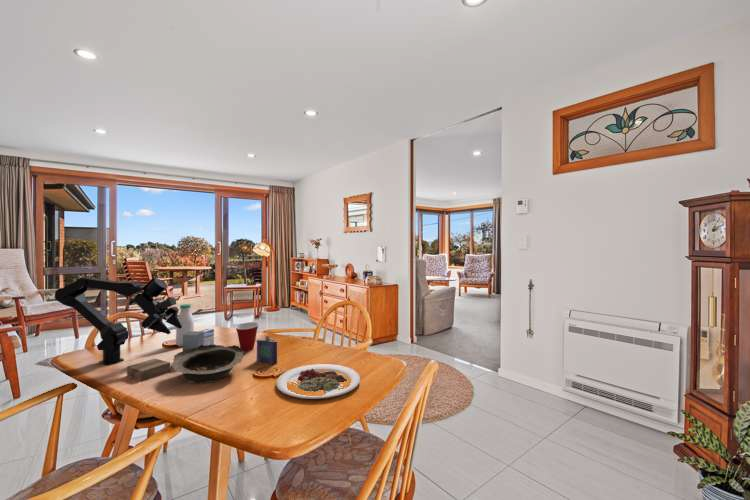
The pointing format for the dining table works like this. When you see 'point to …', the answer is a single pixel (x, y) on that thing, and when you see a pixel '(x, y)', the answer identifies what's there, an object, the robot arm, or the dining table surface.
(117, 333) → the robot arm
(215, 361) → the stone bowl
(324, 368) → the plated food
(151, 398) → the dining table surface
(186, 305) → the milk bottle
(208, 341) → the medicine box
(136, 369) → the walnut block
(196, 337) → the slate tin
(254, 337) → the plastic cup
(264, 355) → the flask
